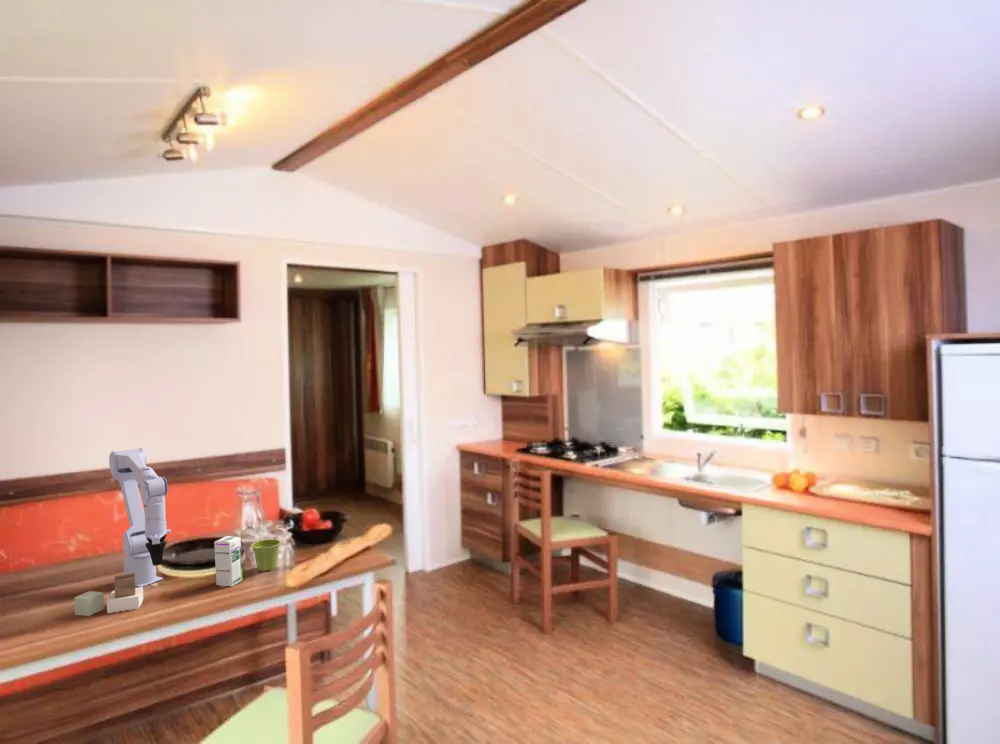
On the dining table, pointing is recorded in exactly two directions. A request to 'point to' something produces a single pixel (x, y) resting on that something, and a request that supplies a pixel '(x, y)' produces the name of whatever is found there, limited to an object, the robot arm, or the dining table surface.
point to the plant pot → (266, 554)
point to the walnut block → (124, 585)
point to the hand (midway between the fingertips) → (157, 561)
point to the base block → (125, 601)
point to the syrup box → (228, 561)
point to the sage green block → (89, 603)
